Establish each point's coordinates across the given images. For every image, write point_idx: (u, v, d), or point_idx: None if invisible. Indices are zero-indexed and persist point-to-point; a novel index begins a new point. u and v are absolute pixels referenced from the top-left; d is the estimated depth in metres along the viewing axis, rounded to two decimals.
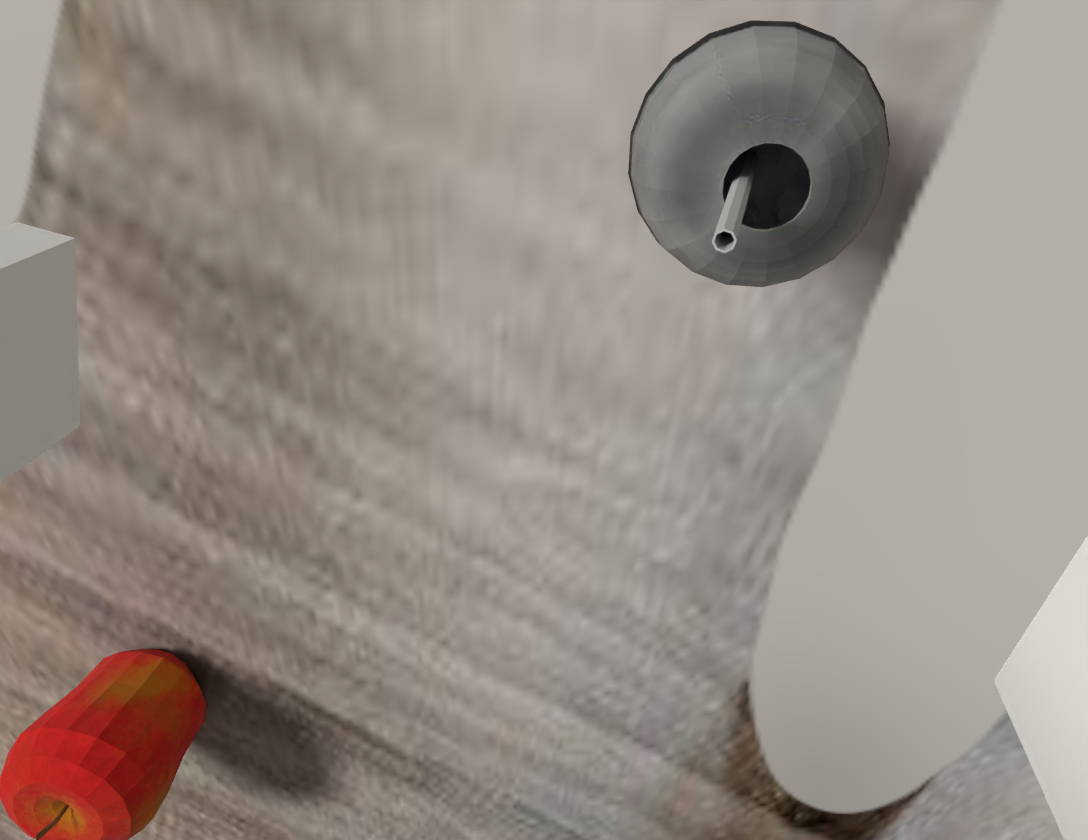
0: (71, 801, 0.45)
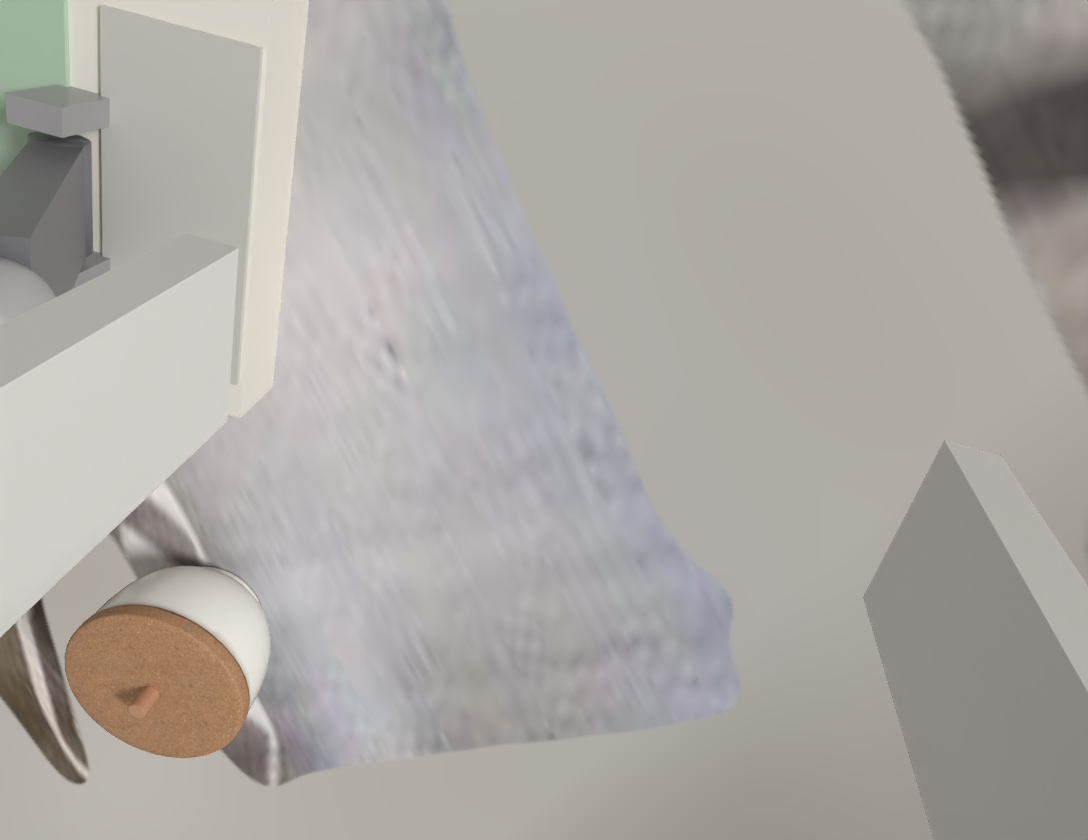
0: None
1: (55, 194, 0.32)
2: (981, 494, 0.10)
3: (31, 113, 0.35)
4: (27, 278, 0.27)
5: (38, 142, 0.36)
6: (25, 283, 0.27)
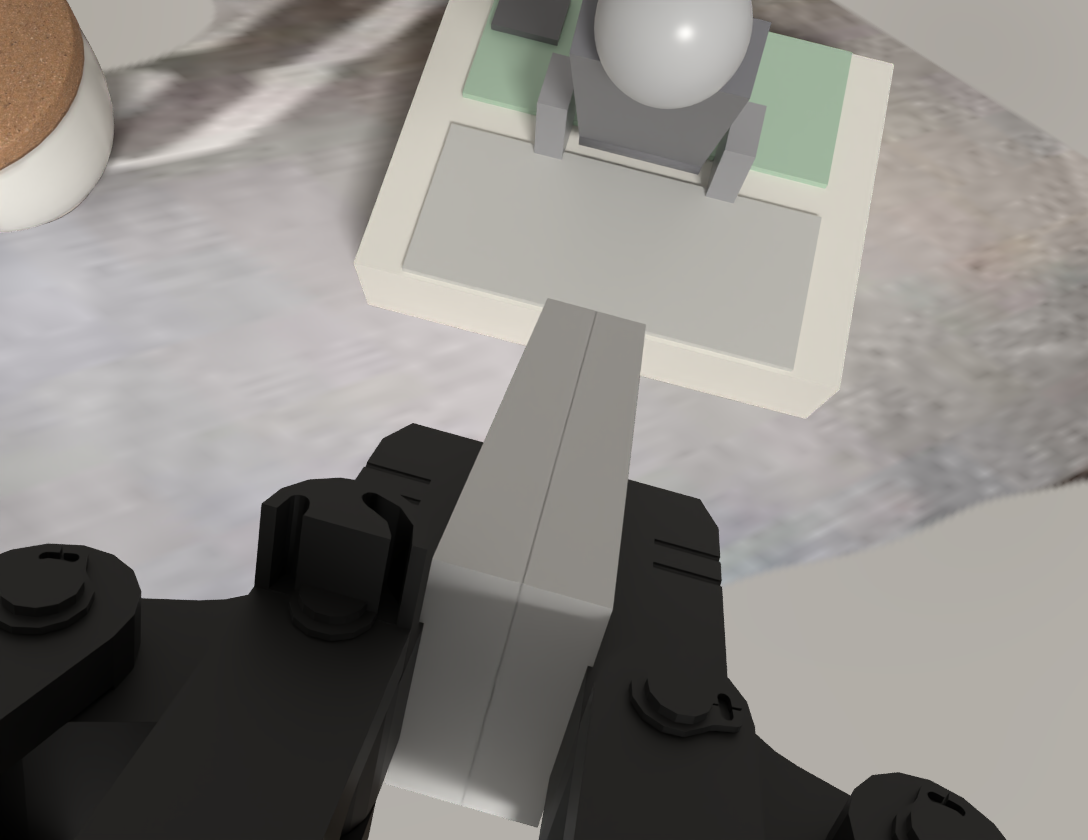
0: None
1: (724, 133, 0.28)
2: (594, 346, 0.11)
3: (747, 125, 0.33)
4: (722, 83, 0.22)
5: None
6: (722, 80, 0.22)
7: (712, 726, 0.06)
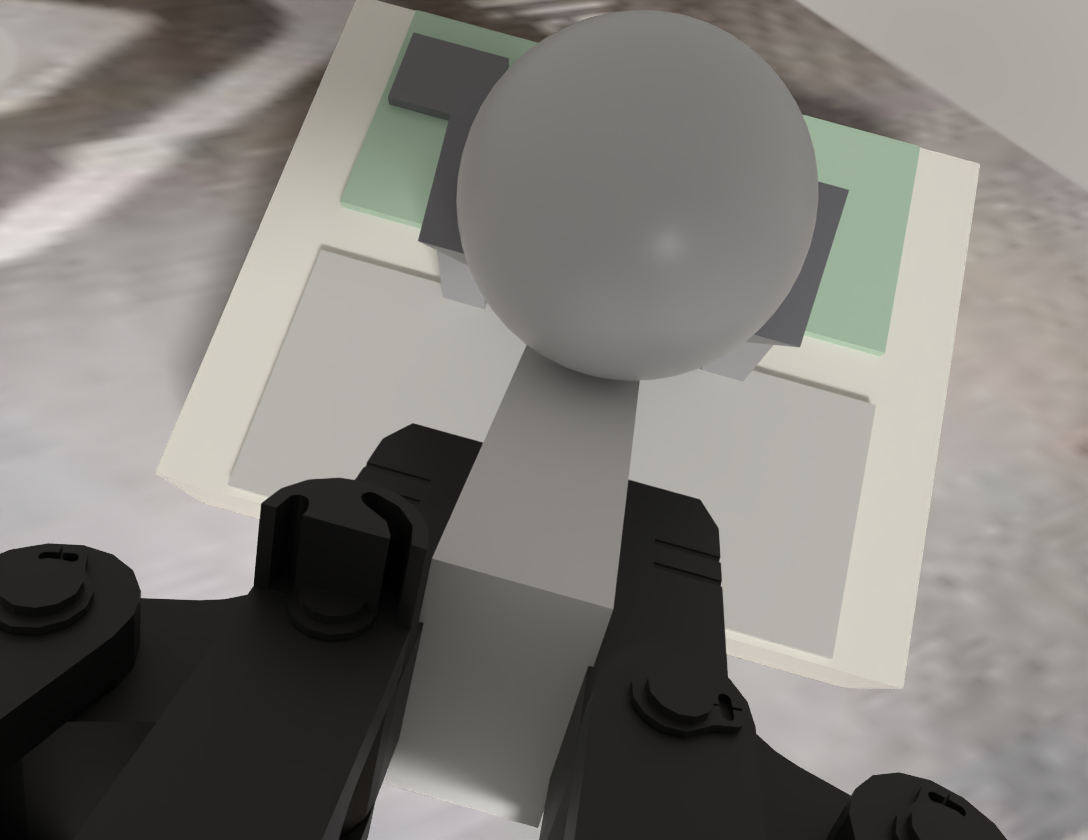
0: None
1: None
2: None
3: None
4: None
5: None
6: (746, 338, 0.09)
7: (712, 726, 0.06)
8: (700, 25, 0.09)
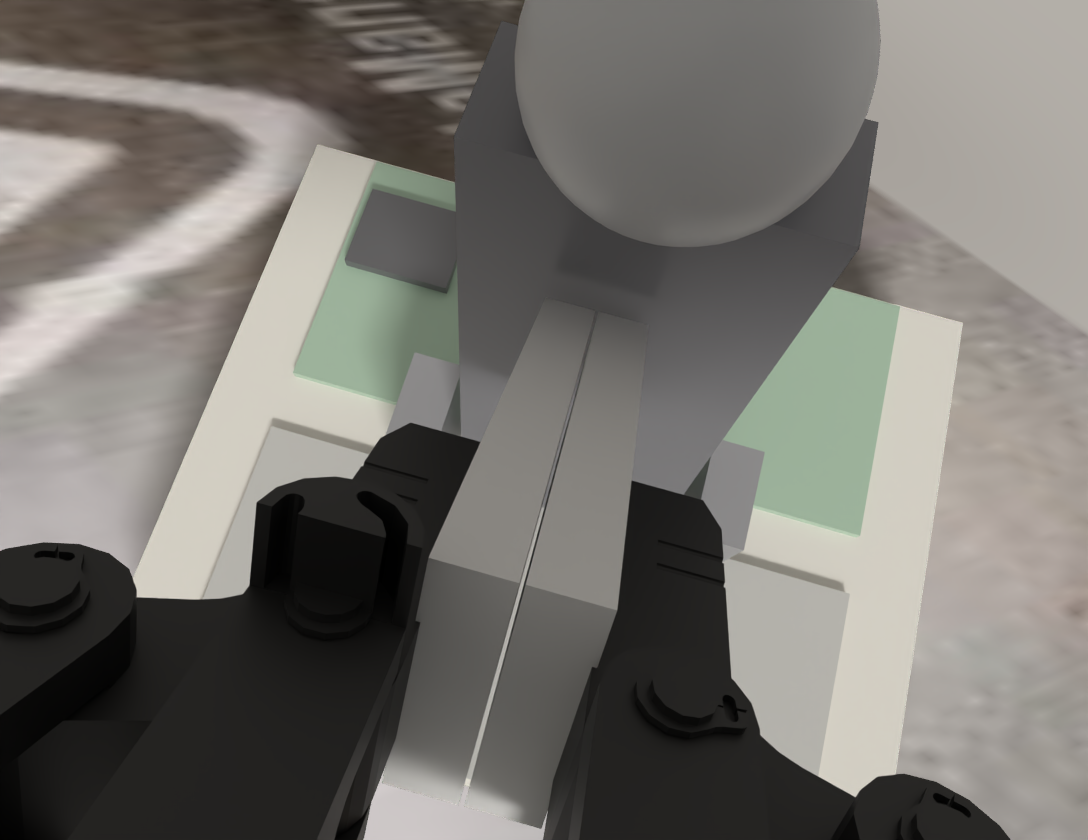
0: None
1: (742, 408, 0.15)
2: (597, 346, 0.11)
3: (732, 489, 0.20)
4: (821, 170, 0.09)
5: None
6: (829, 147, 0.09)
7: (716, 728, 0.06)
8: None
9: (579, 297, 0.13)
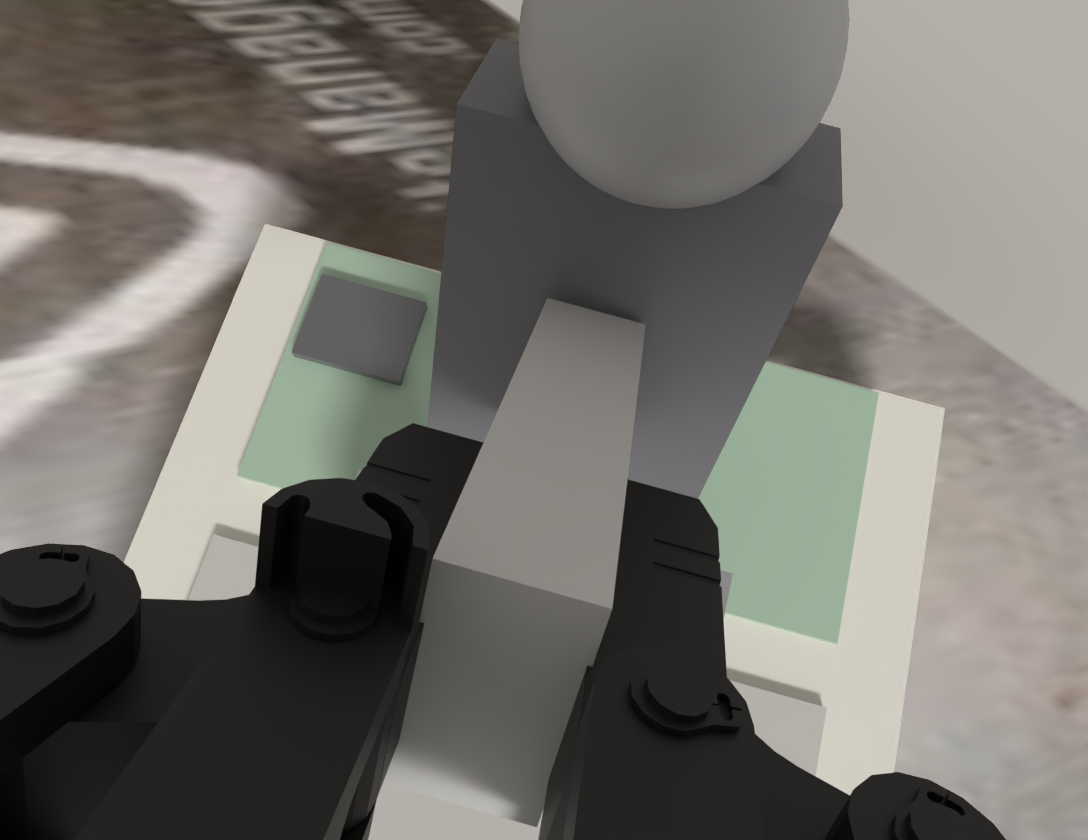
0: None
1: (722, 444, 0.14)
2: (593, 345, 0.11)
3: None
4: (809, 105, 0.10)
5: None
6: (816, 76, 0.10)
7: (712, 726, 0.06)
8: None
9: None
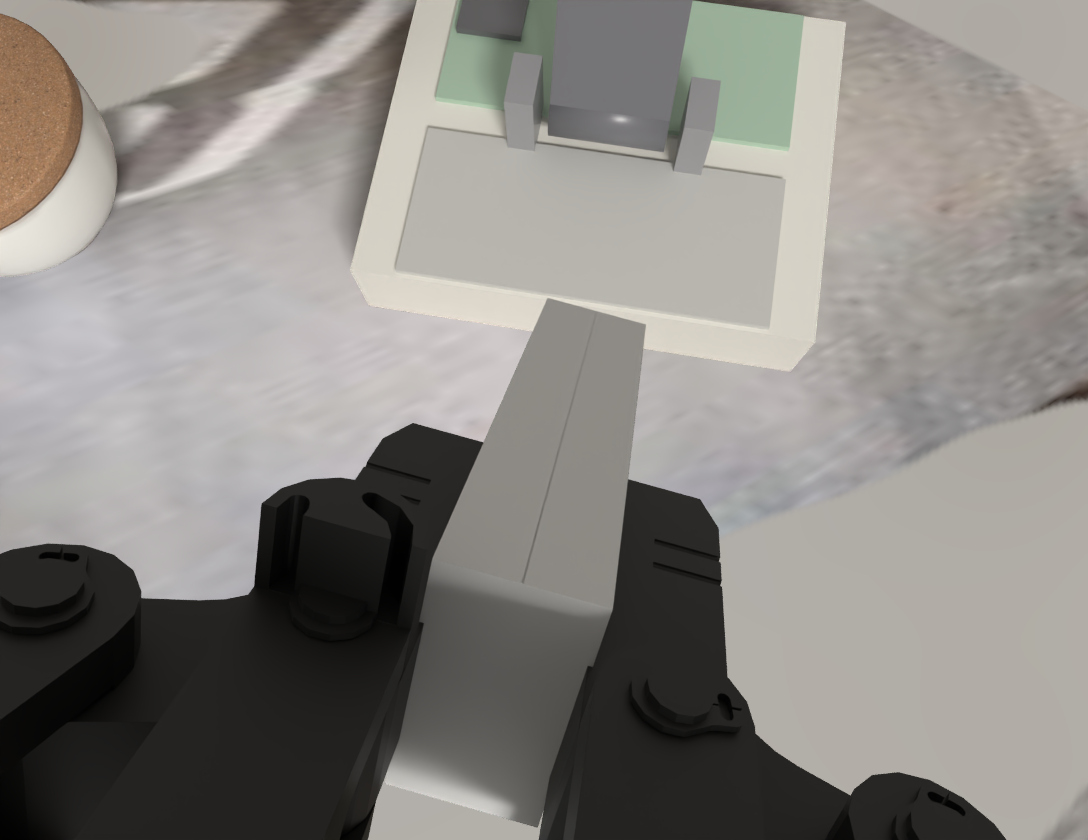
0: None
1: None
2: (594, 345, 0.11)
3: (704, 102, 0.35)
4: None
5: None
6: None
7: (712, 725, 0.06)
8: None
9: None
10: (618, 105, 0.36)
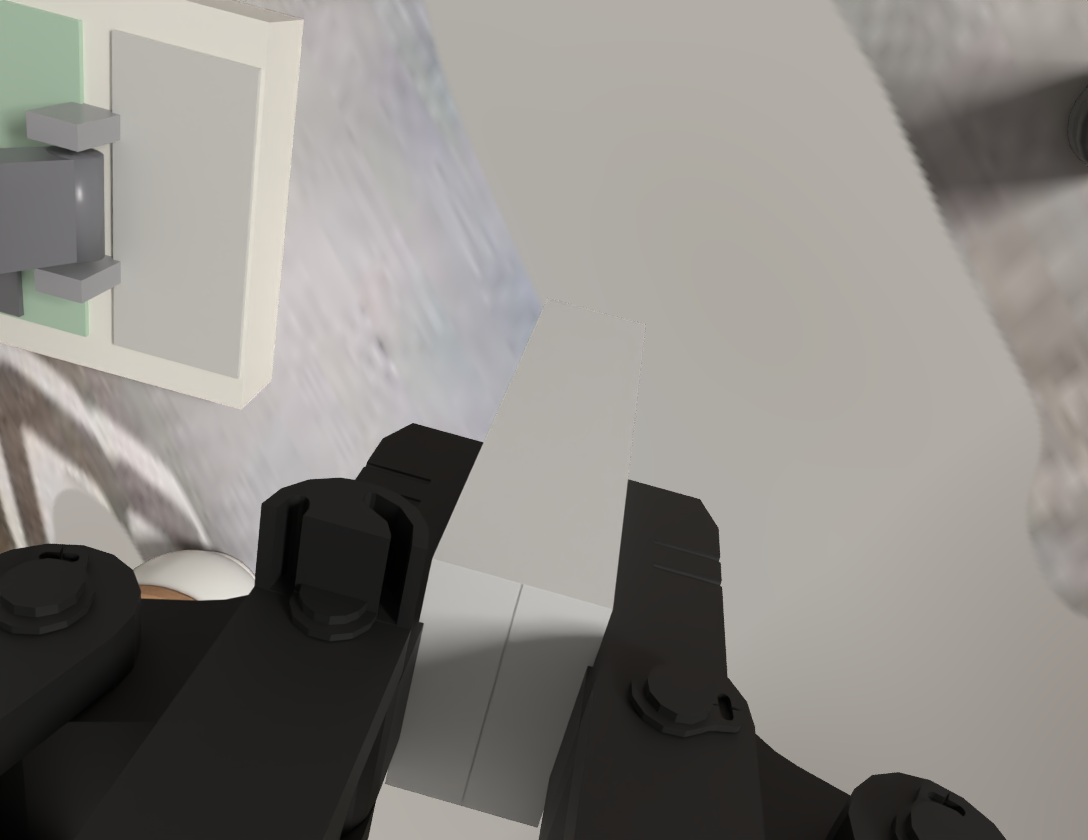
0: None
1: None
2: (594, 346, 0.11)
3: (49, 129, 0.39)
4: None
5: (46, 149, 0.40)
6: None
7: (711, 726, 0.06)
8: None
9: None
10: (67, 206, 0.40)
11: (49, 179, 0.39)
